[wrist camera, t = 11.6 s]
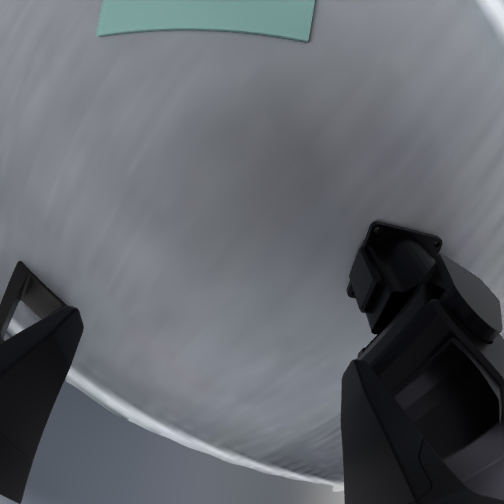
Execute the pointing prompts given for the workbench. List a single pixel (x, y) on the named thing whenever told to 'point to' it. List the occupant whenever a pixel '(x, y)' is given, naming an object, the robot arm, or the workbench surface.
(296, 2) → the rubber mat
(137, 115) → the workbench surface
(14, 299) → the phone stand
